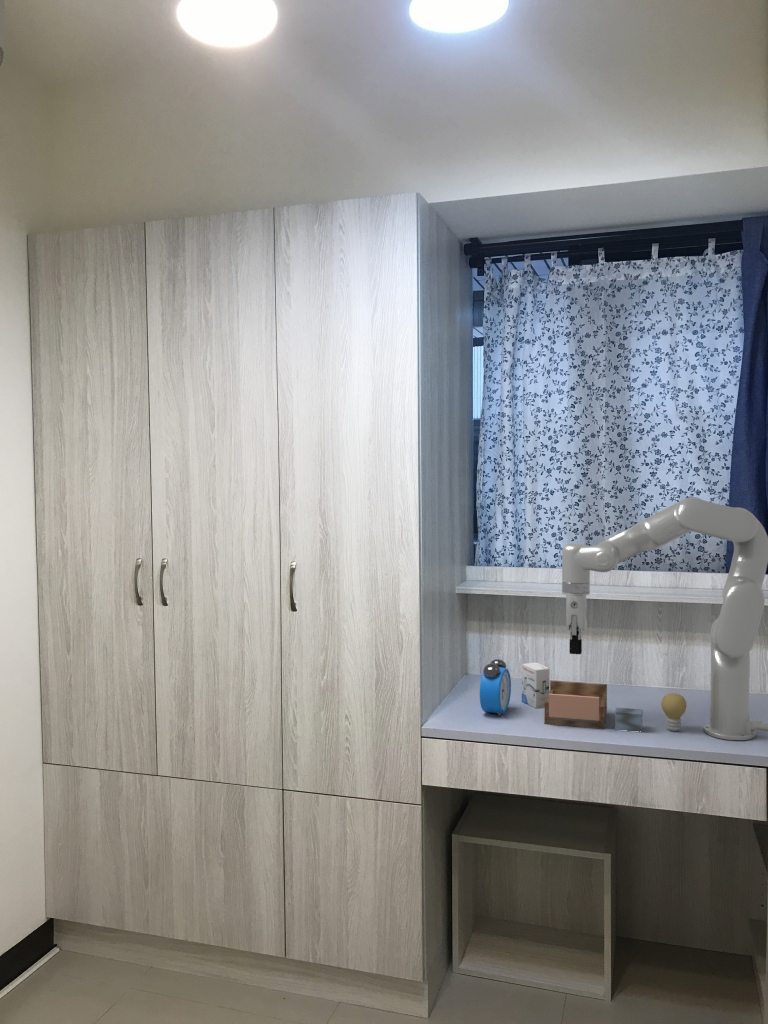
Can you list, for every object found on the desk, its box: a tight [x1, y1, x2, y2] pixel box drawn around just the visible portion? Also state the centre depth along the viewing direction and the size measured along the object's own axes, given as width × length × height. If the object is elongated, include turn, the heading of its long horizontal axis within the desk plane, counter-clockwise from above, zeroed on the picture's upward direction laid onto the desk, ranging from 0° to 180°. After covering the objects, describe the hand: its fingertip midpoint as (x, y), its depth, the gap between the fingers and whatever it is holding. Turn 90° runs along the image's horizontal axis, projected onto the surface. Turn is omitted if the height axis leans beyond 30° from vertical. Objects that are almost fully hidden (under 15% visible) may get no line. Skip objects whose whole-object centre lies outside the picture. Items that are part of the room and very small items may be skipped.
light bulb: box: [660, 692, 687, 732], centre depth 224 cm, size 6×6×10 cm
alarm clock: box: [479, 658, 512, 717], centre depth 242 cm, size 13×6×15 cm, turn 157°
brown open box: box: [543, 680, 608, 730], centre depth 235 cm, size 16×15×8 cm
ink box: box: [521, 662, 550, 709], centre depth 250 cm, size 9×5×12 cm, turn 21°
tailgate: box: [549, 694, 599, 723], centre depth 227 cm, size 13×1×7 cm, turn 72°
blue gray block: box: [614, 707, 644, 733], centre depth 226 cm, size 7×5×5 cm, turn 72°
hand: (575, 653), depth 233 cm, fingers closed
